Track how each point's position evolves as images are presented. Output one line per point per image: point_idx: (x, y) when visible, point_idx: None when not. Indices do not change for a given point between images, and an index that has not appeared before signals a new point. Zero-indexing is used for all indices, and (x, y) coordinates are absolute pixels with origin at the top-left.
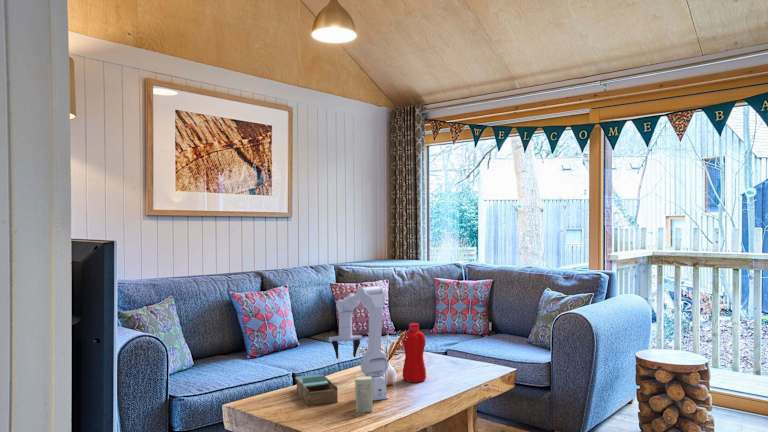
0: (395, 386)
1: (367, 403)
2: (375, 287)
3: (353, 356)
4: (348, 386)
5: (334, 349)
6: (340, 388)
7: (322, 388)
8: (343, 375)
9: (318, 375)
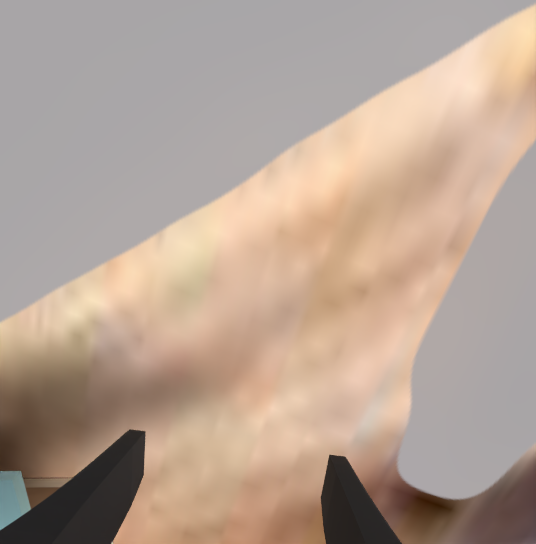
0: (456, 534)
1: None
2: None
3: (327, 471)
4: (232, 453)
5: (33, 518)
6: (184, 467)
7: None
8: (271, 237)
9: (8, 508)
